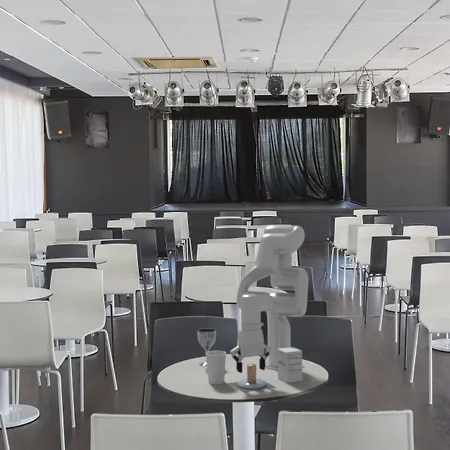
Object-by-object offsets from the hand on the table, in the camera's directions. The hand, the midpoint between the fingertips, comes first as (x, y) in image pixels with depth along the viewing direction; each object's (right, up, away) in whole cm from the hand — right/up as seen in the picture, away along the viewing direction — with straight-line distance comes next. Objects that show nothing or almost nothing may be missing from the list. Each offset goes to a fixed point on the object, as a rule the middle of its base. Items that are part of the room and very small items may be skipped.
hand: (251, 370), depth 300 cm
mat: (0, -6, +1) cm, 6 cm away
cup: (-13, -6, +7) cm, 16 cm away
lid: (0, -6, +1) cm, 6 cm away
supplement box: (+16, -6, +8) cm, 19 cm away
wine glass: (-18, -4, +37) cm, 41 cm away
